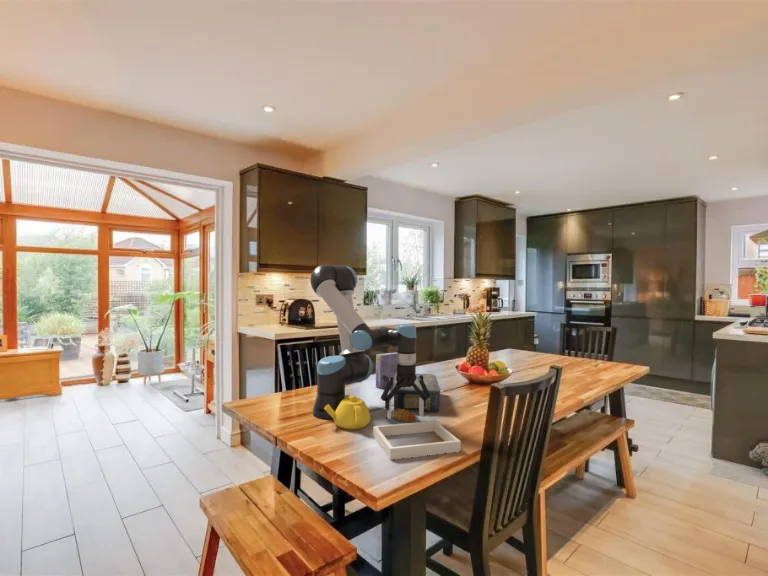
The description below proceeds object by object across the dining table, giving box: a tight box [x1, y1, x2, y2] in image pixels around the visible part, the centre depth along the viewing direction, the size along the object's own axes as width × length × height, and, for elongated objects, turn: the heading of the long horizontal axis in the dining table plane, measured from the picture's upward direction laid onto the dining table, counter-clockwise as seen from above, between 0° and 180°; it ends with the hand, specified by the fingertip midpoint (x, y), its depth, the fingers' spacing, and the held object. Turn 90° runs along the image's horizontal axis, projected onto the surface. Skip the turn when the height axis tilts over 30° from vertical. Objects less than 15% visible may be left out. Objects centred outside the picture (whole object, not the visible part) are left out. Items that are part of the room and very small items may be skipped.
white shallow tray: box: [372, 420, 462, 461], centre depth 138 cm, size 24×20×4 cm
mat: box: [386, 415, 423, 425], centre depth 159 cm, size 12×12×1 cm
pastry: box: [392, 408, 417, 422], centre depth 160 cm, size 9×7×4 cm
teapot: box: [324, 394, 371, 430], centre depth 155 cm, size 20×18×11 cm
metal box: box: [391, 373, 441, 413], centre depth 188 cm, size 21×32×10 cm, turn 177°
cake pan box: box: [375, 352, 398, 389], centre depth 216 cm, size 19×5×18 cm, turn 130°
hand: (405, 416), depth 159 cm, fingers open, 13 cm apart
